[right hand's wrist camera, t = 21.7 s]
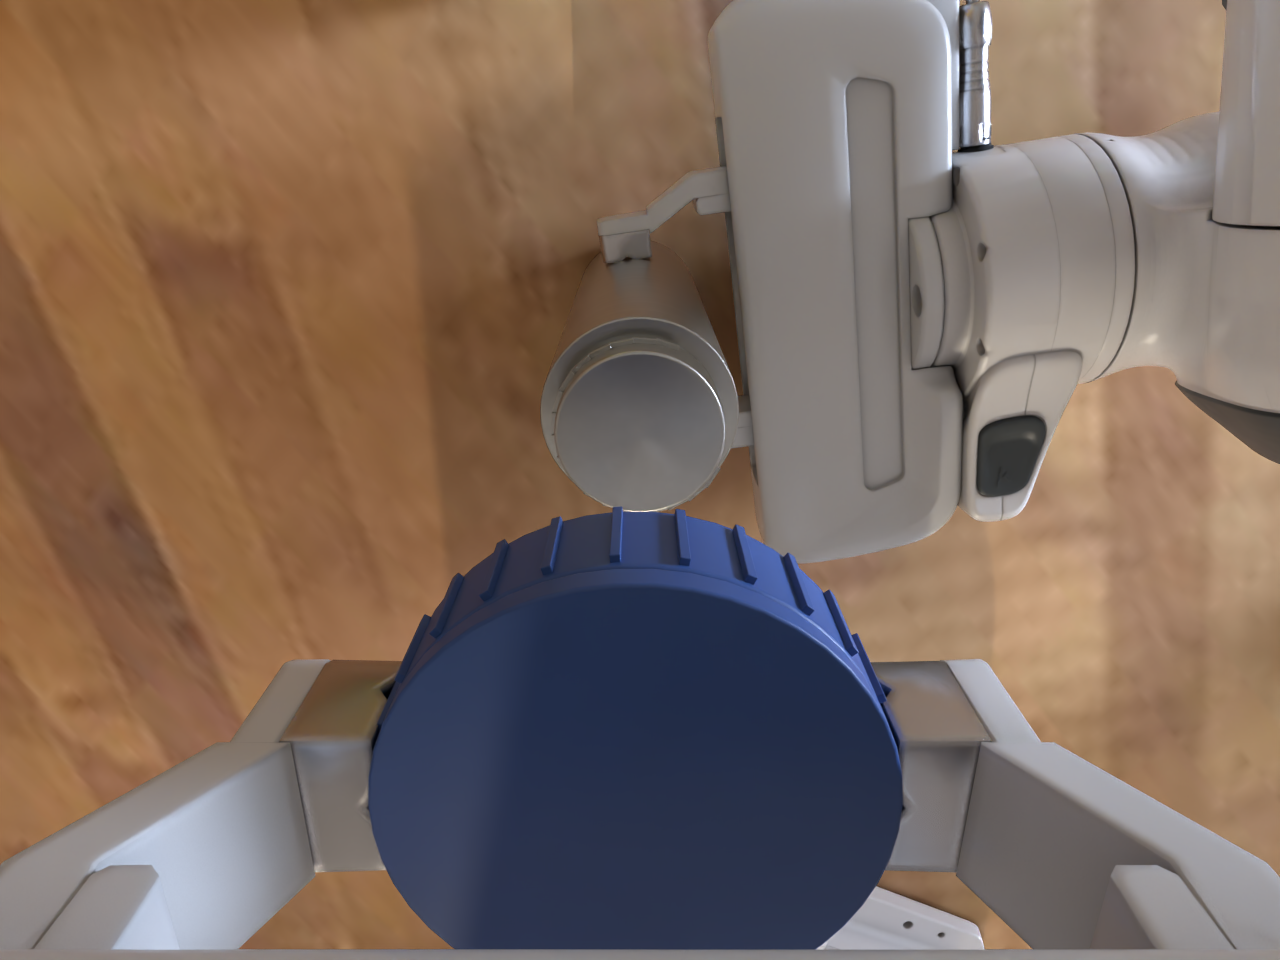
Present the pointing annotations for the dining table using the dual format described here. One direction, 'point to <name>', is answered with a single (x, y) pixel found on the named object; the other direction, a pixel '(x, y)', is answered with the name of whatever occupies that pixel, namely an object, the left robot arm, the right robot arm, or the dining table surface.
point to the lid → (635, 747)
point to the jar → (639, 387)
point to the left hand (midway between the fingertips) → (614, 329)
